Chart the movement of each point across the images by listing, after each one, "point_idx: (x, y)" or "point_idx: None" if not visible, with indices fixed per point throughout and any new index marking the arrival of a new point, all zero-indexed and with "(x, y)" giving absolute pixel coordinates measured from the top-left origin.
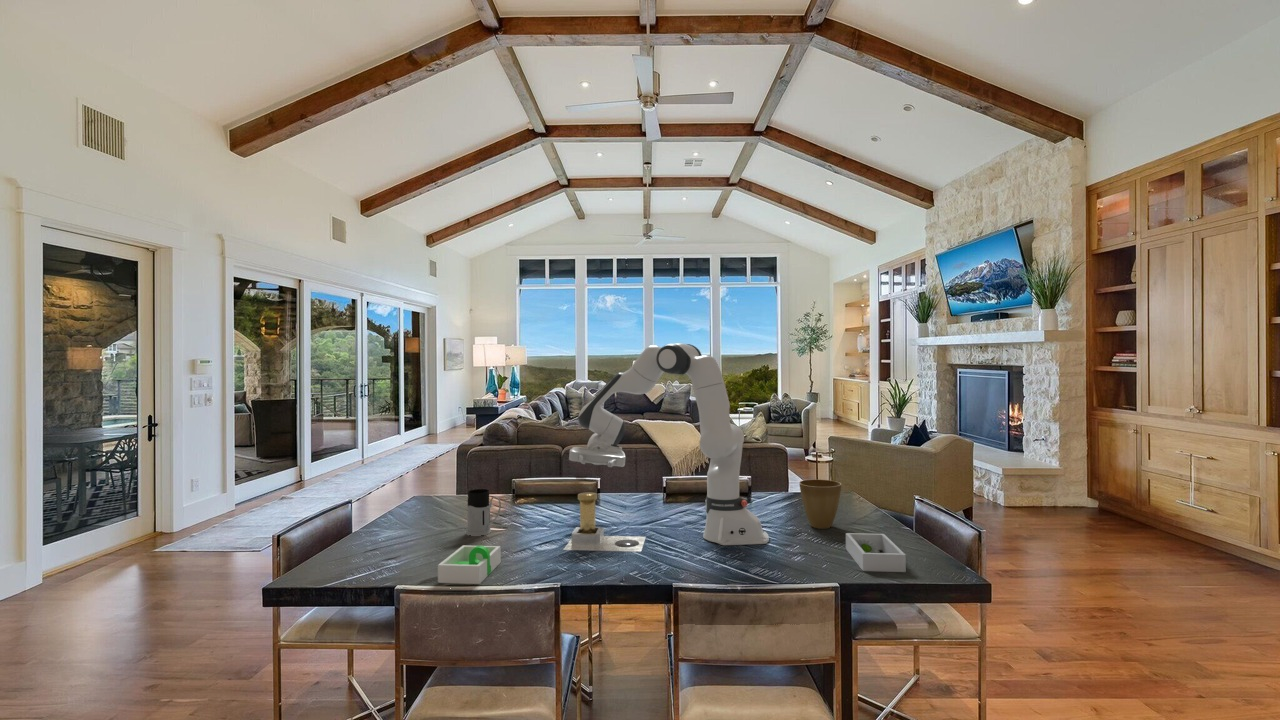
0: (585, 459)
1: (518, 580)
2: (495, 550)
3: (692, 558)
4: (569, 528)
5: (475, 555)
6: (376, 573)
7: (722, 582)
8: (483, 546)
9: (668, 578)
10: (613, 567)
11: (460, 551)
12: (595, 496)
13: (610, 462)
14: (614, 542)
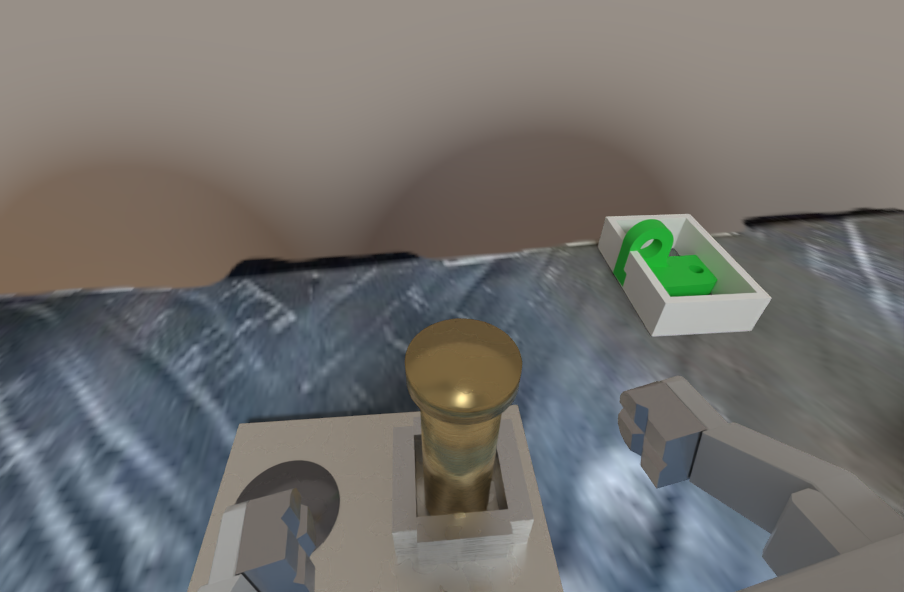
0: (630, 394)
1: (535, 265)
2: (650, 279)
3: (60, 438)
4: None
5: (660, 245)
6: (843, 262)
7: (78, 298)
8: (649, 228)
9: (202, 303)
10: (337, 343)
11: (737, 277)
12: (410, 348)
13: (259, 501)
14: (342, 514)
